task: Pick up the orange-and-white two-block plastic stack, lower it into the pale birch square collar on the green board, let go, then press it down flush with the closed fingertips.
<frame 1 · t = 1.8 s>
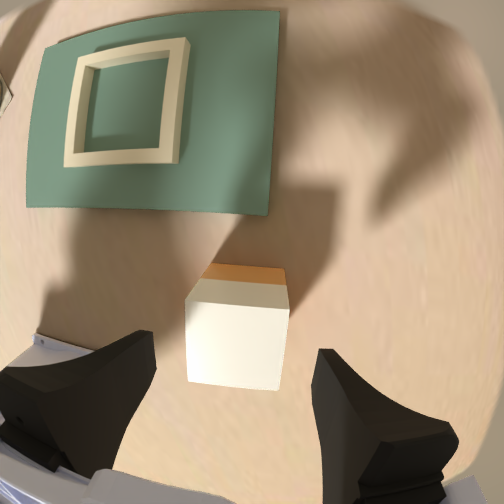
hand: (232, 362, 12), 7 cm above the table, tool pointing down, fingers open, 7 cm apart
base plate: (132, 108, 16), on the table
brick stack: (245, 299, 19), on the table
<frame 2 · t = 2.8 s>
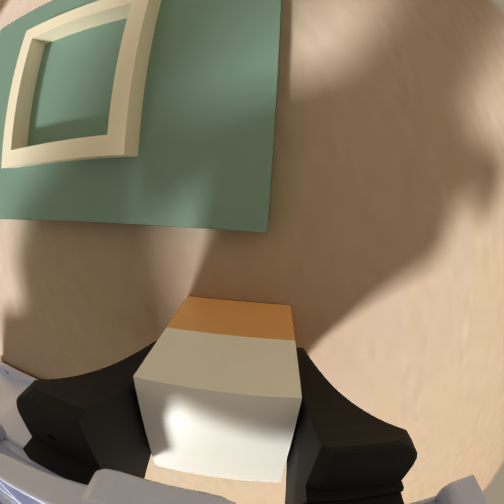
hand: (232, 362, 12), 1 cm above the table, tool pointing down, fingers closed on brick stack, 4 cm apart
base plate: (86, 86, 11), on the table
brick stack: (236, 344, 13), on the table, touching gripper
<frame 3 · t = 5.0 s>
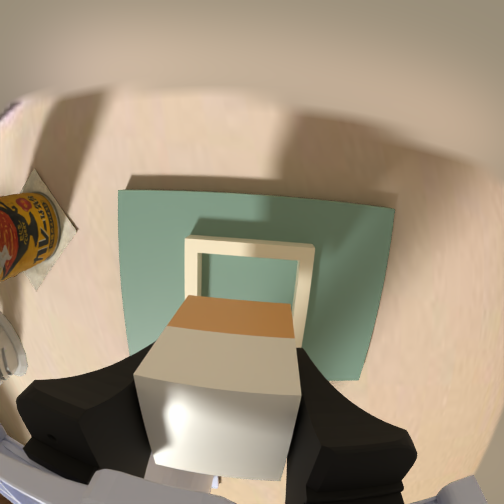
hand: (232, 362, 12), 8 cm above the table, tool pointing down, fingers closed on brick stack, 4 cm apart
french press: (2, 336, 24), on the table
base plate: (248, 291, 20), on the table
condiment: (35, 231, 20), on the table
brick stack: (236, 343, 13), point 7 cm above the table, touching gripper
when the fingers open (3 cm above the table, at t = 7.1 s): brick stack stays where it is, resting on base plate.
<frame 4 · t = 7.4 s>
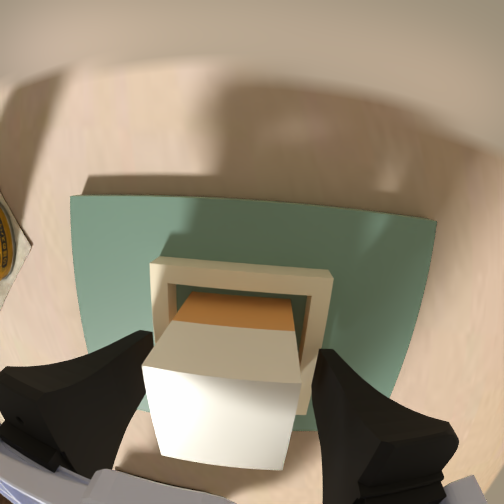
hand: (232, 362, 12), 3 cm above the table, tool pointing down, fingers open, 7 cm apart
base plate: (240, 328, 15), on the table
brick stack: (238, 338, 14), point 1 cm above the table, touching base plate
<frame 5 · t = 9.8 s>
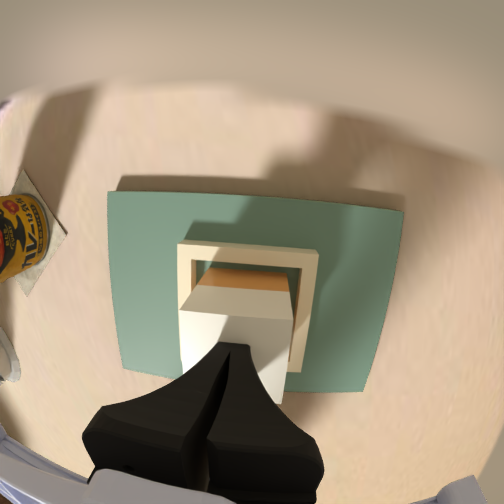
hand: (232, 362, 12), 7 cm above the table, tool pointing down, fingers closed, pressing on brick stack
base plate: (246, 299, 19), on the table
condiment: (24, 234, 19), on the table
brick stack: (245, 305, 18), point 1 cm above the table, touching base plate, gripper
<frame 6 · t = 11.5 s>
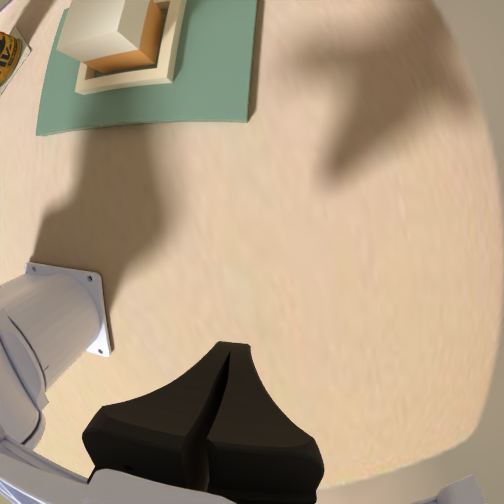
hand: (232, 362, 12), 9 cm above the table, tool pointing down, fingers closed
base plate: (137, 48, 17), on the table
condiment: (2, 68, 18), on the table
brick stack: (132, 43, 16), point 1 cm above the table, touching base plate
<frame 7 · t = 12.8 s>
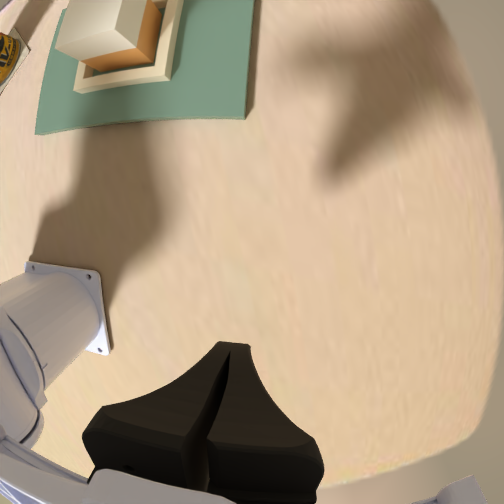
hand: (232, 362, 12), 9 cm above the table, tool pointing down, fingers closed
base plate: (135, 47, 17), on the table
condiment: (1, 69, 18), on the table
brick stack: (130, 42, 16), point 1 cm above the table, touching base plate
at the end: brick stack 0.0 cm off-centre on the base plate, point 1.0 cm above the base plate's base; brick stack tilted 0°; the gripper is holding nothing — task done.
